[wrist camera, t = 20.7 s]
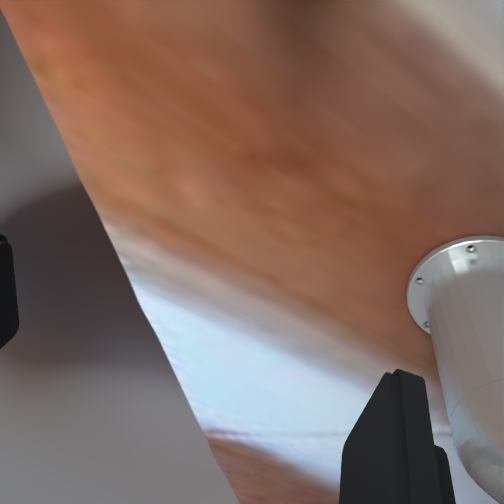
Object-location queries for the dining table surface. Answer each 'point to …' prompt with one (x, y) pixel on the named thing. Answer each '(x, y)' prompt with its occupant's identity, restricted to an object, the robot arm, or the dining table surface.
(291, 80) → the dining table surface
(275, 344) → the dining table surface
